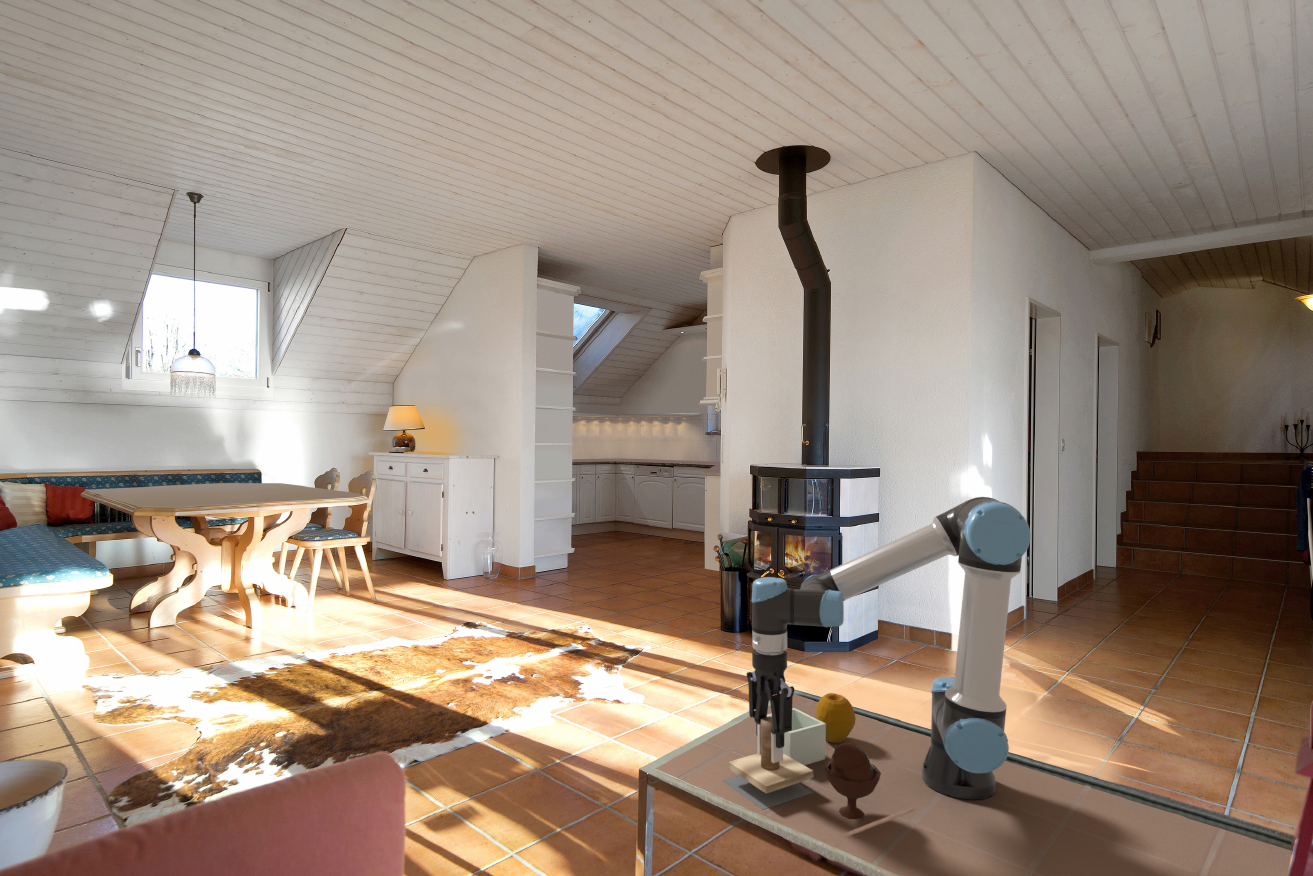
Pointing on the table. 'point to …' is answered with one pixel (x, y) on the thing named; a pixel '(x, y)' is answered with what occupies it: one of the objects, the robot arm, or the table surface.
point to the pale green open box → (805, 738)
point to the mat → (764, 798)
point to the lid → (769, 765)
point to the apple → (836, 716)
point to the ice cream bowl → (851, 777)
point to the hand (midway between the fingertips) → (770, 756)
